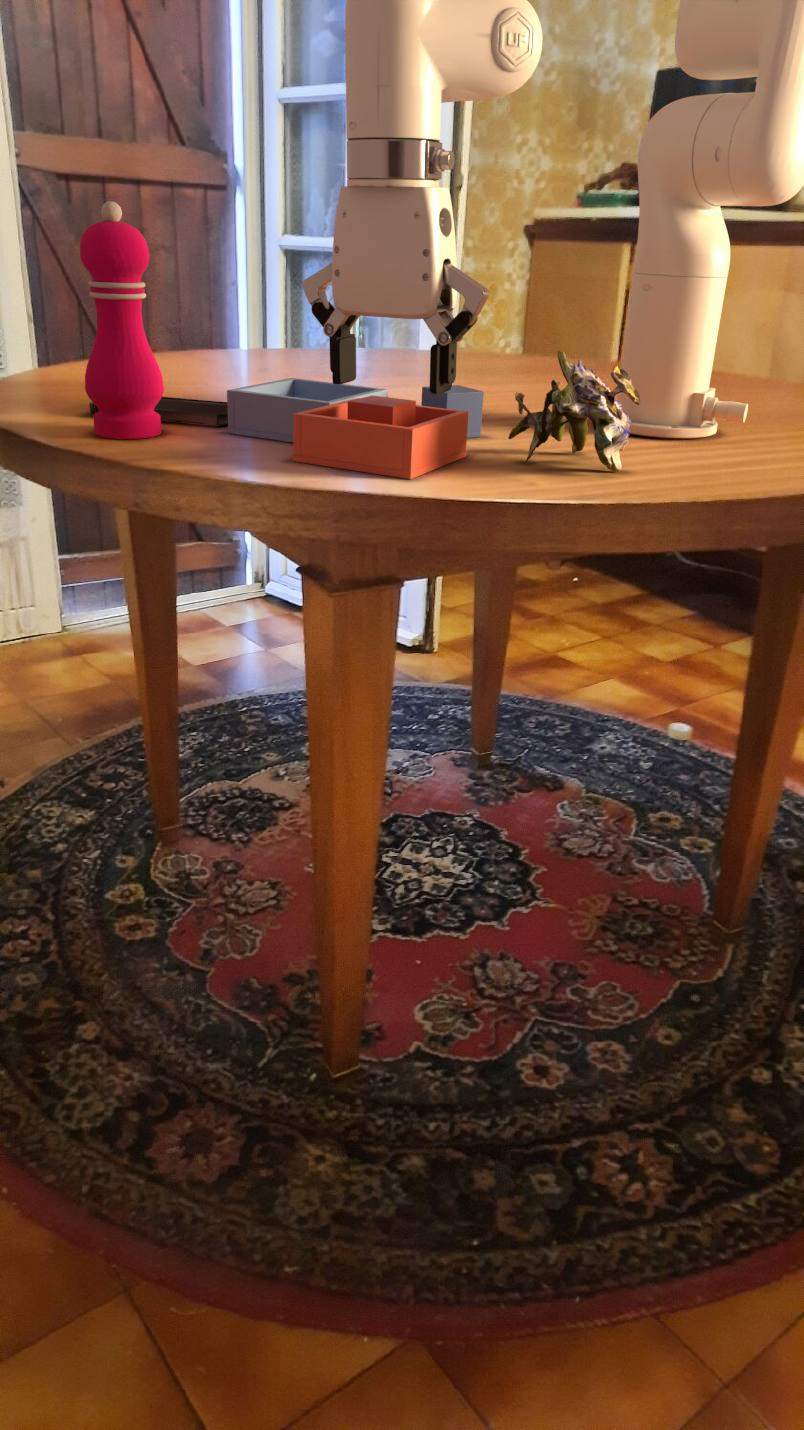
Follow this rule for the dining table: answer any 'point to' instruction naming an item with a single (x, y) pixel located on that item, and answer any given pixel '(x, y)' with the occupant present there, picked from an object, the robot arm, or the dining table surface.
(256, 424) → the blue bin
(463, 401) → the blue block
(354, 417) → the red block
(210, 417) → the phone
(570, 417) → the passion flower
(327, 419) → the red bin
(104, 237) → the pepper mill
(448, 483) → the dining table surface
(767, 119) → the robot arm
